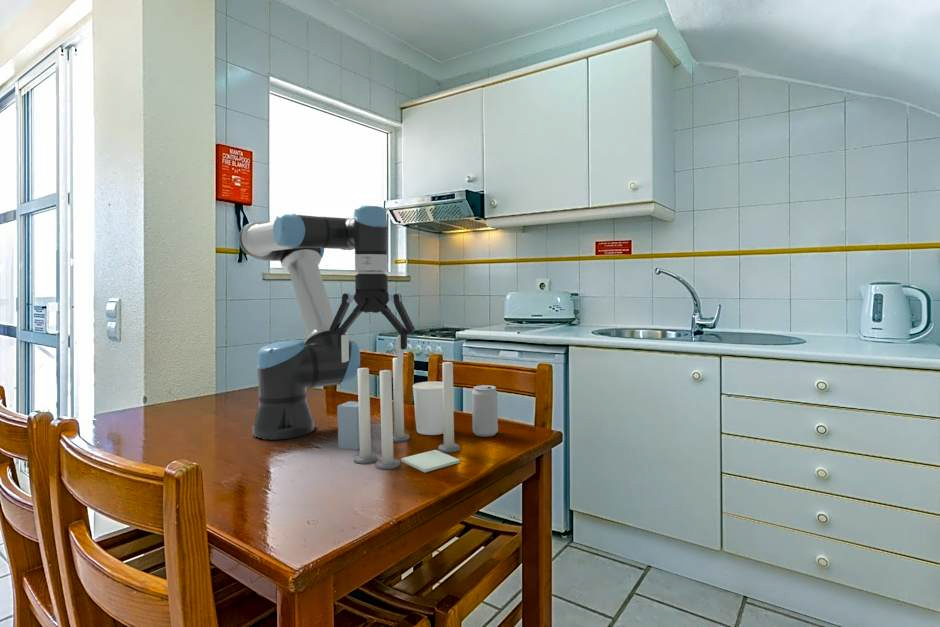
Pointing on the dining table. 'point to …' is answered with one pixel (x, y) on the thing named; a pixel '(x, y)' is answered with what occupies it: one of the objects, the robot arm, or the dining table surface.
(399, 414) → the gate posts
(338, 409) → the block
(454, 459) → the pad
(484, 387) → the beverage can
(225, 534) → the dining table surface
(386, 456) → the gate posts
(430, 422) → the white cup
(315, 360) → the robot arm
